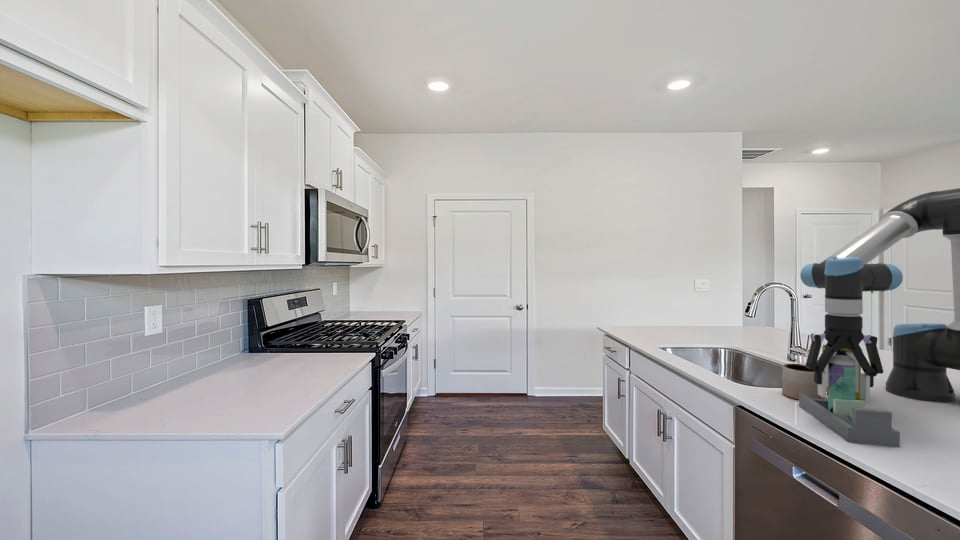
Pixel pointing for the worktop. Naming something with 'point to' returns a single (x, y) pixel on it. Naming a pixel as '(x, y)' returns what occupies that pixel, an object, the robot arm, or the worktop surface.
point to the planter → (799, 382)
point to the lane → (855, 423)
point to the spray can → (841, 378)
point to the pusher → (846, 408)
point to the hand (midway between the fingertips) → (843, 397)
